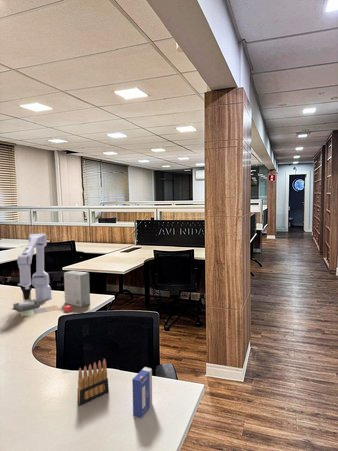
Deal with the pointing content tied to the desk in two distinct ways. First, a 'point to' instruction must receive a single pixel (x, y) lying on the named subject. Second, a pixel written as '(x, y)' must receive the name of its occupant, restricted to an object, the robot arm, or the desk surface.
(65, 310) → the red die
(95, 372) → the ammunition clip
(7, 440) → the desk surface
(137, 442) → the desk surface
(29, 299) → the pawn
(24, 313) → the game mat
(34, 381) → the desk surface
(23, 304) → the dome button
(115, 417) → the desk surface
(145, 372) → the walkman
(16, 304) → the button housing
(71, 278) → the hard drive box
